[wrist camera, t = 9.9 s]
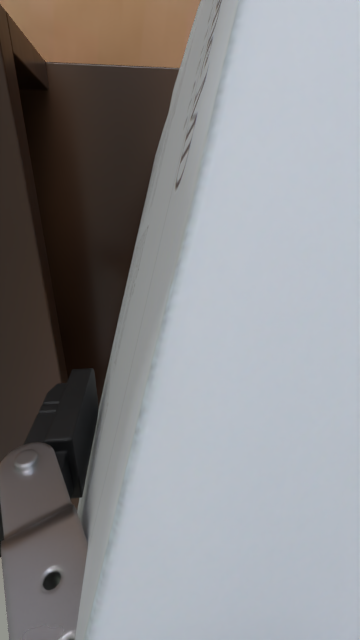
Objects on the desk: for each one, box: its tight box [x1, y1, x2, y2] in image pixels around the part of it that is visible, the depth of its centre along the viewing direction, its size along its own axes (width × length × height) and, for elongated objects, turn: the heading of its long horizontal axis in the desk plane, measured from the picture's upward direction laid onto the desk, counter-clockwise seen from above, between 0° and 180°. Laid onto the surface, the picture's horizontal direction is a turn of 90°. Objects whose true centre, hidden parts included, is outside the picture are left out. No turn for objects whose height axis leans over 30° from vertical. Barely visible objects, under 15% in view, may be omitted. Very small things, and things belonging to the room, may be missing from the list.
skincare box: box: [75, 0, 360, 640], centre depth 11 cm, size 21×5×16 cm, turn 163°
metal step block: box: [0, 5, 180, 510], centre depth 19 cm, size 14×26×9 cm, turn 0°
